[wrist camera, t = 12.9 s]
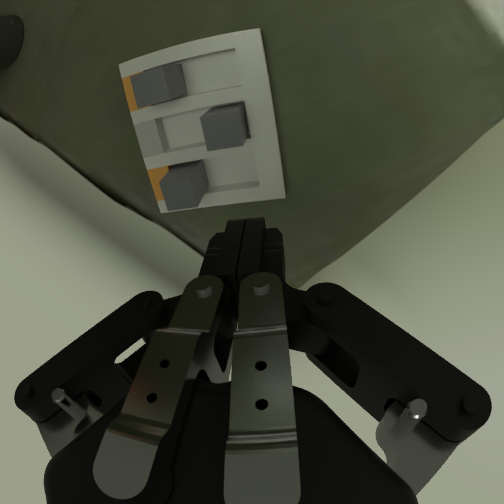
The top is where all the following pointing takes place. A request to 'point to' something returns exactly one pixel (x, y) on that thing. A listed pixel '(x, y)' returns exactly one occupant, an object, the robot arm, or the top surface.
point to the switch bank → (199, 102)
